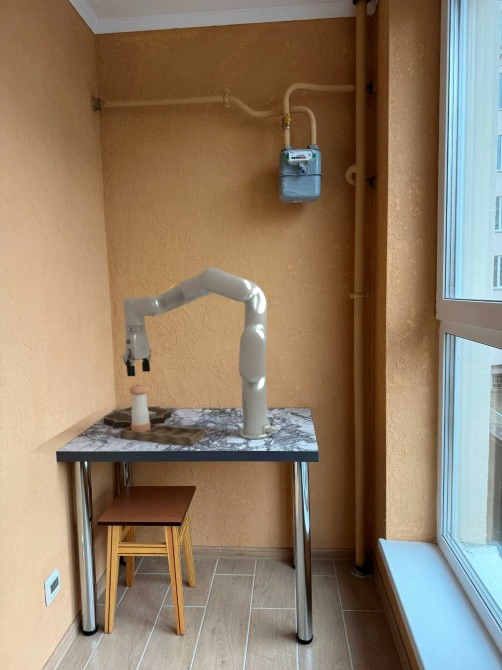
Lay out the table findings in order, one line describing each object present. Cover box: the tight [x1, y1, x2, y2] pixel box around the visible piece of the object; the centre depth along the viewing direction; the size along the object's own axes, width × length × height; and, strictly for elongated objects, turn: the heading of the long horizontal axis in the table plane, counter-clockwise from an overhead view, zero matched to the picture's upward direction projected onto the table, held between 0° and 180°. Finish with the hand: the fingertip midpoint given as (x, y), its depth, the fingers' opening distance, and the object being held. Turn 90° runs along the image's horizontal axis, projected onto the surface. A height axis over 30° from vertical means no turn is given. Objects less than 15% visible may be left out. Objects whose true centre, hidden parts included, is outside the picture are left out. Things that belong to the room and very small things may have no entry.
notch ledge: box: [119, 424, 206, 447], centre depth 179 cm, size 31×11×3 cm, turn 68°
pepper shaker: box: [129, 382, 151, 432], centre depth 182 cm, size 7×7×19 cm
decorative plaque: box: [103, 405, 172, 430], centre depth 206 cm, size 30×3×30 cm
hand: (139, 373), depth 180 cm, fingers open, 9 cm apart
